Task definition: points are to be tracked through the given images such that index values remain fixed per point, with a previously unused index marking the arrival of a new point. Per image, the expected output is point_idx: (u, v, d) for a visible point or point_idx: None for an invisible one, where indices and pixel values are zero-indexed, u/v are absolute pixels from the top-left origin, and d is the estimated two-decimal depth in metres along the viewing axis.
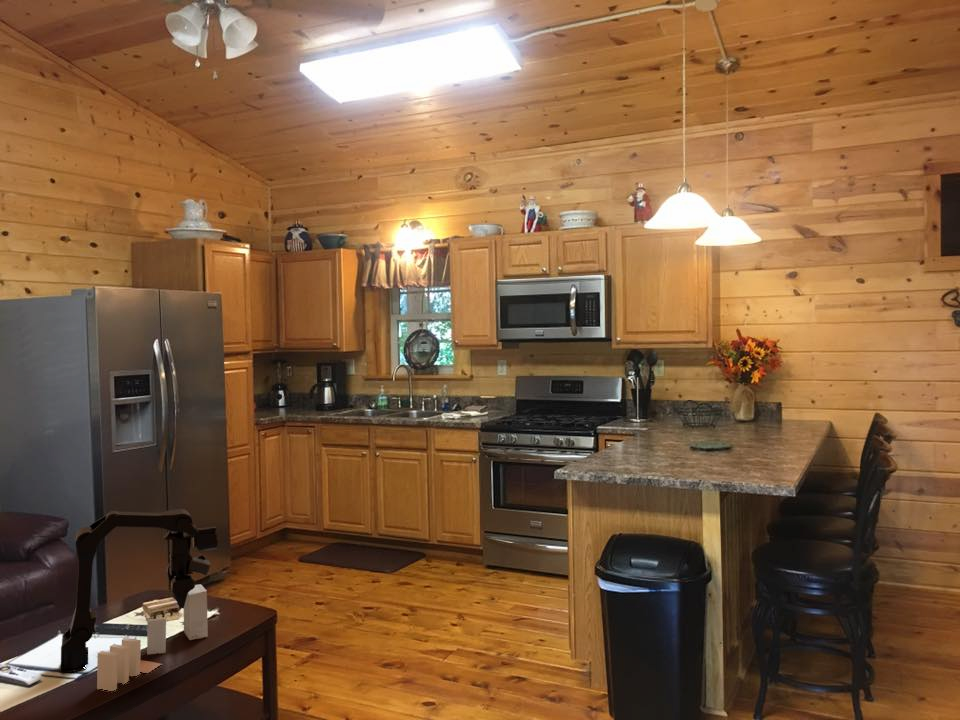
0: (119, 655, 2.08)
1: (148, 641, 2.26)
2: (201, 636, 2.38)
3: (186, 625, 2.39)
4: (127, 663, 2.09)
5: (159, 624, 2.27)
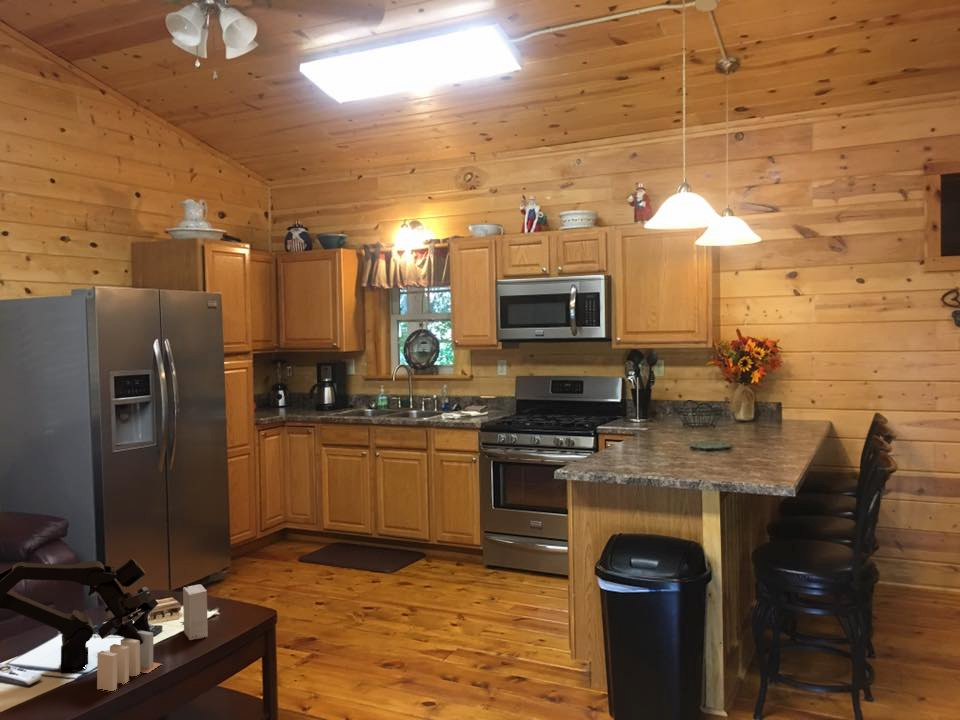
0: (119, 655, 2.08)
1: None
2: (201, 636, 2.38)
3: (186, 625, 2.39)
4: (127, 663, 2.09)
5: (144, 637, 2.17)
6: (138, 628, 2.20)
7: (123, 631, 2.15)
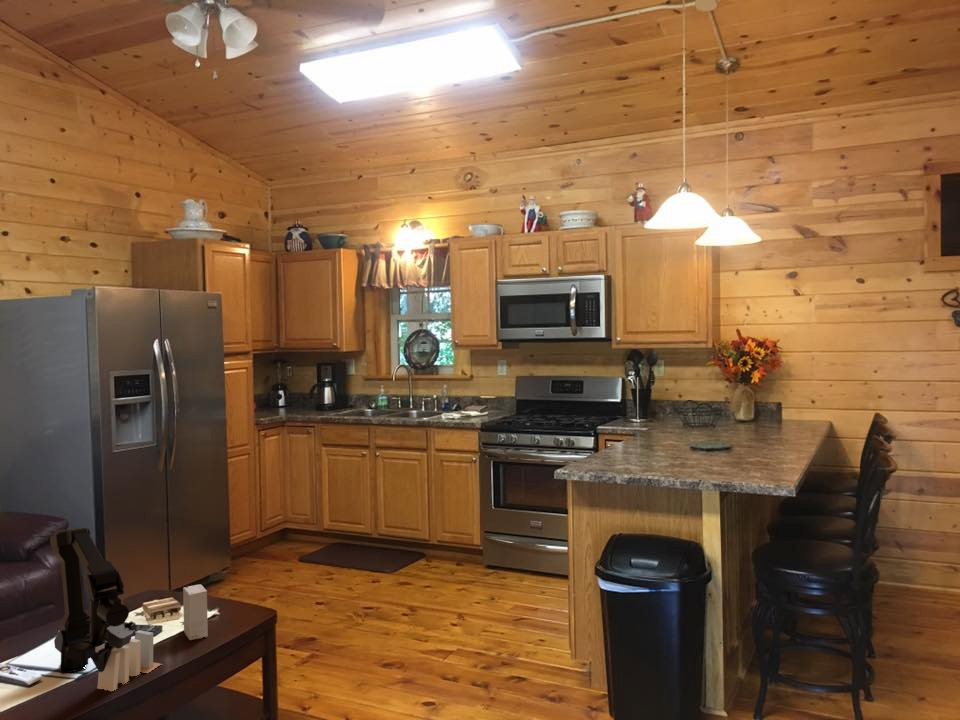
0: None
1: None
2: (201, 636, 2.38)
3: (186, 625, 2.39)
4: (127, 663, 2.09)
5: (144, 637, 2.17)
6: None
7: None
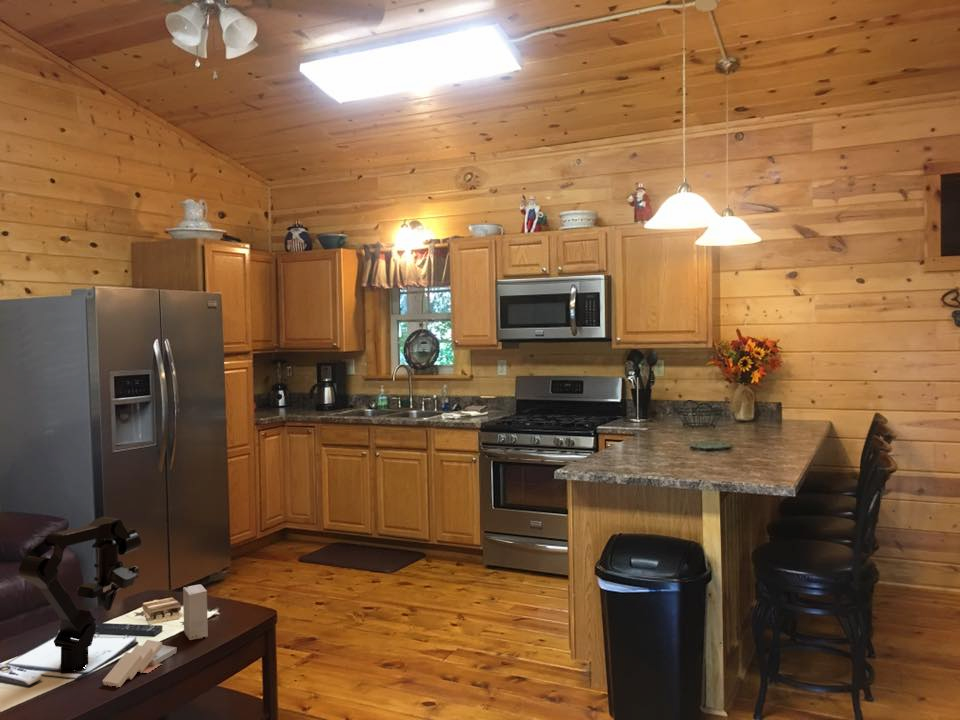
0: (142, 652, 2.17)
1: None
2: (201, 636, 2.38)
3: (186, 625, 2.39)
4: (143, 662, 2.15)
5: (169, 647, 2.28)
6: None
7: None
